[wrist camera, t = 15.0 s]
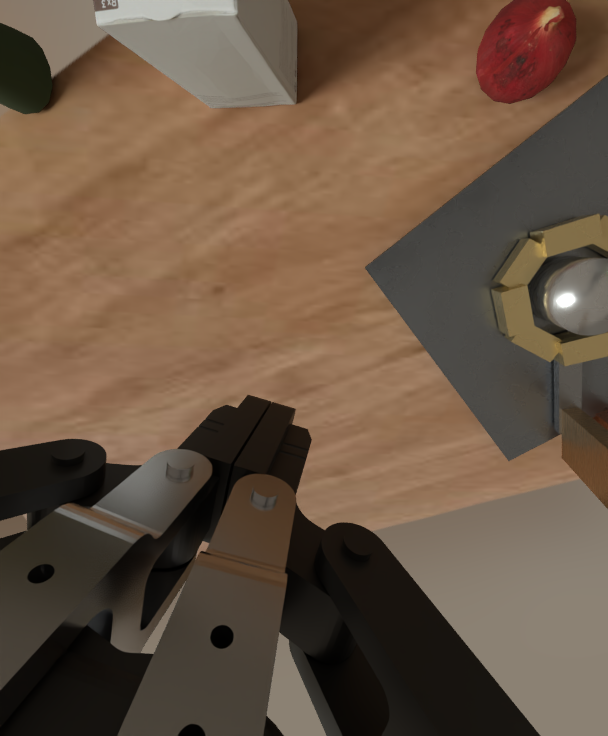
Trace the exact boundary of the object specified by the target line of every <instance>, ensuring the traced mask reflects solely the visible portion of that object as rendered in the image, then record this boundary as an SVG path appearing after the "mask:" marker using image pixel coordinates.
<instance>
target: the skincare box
mask: <svg viewBox="0 0 608 736" xmlns="http://www.w3.org/2000/svg"><path fill="white" fill-rule="evenodd" d="M93 1H94V8H95V16H96V24H97V26H98V27H100V28H101V29H102V30H104V31H105V32H107V33H108V34H109V35H111V36H112V37H113V38H115V39H116V40H118V41H119V42H120V43H122V44H123V45H124V46H126V47H127V48H129V49H130V50H132V51H133V52H134V53H136V54H137V55H138V56H140V57H141V58H143V59H144V60H145V61H147V62H148V63H150V64H151V65H152V66H154V67H155V68H156V69H158V70H159V71H161V72H162V73H163V74H165V75H166V76H168V77H169V78H170V79H172V80H173V81H174V82H176V83H177V84H179V85H180V86H181V87H183V88H184V89H185V90H187V91H188V92H190V93H191V94H192V95H194V96H195V97H197V98H198V99H199V100H201V101H202V102H203V103H205V104H206V105H208V106H209V107H210V108H231V107H257V106H272V105H282V104H296V101H297V21H296V18H295V16H294V13H293V11H292V8H291V6H290V4H289V1H288V0H93Z"/></svg>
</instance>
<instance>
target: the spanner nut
mask: <svg viewBox="0 0 608 736" xmlns="http://www.w3.org/2000/svg"><path fill="white" fill-rule="evenodd" d="M530 237H531V239H530V238H528V239H520V241H519V242H518V244H517V245H516V247H515V248H514V250H513V251H512V253H511V254H510V256H509V257H508V259H507V260H506V262H505V263H504V265H503V266H502V268H501V269H500V271H499V272H498V274H497V275H496V277H495V278H494V280H493V281H495V282H497V283H499V284H501V285H503V286H501V287H497V288H494V289H491V292H492V297H493V302H494V307H495V312H496V317H497V322H498V327H499V330H500V331H501V332H503V333H504V334H505V336H504V337H505V338H507V339H508V340H509V341H511V342H513V343H515V344H516V345H518V346H520V347H522V348H524V349H526V350H528V351H530V352H532V353H533V354H535V355H537V356H539V357H541V358H543V359H545V360H547V361H549V362H551V361H552V360H553V359H554V429H555V430H556V431H557V432H558V433H559V434H562V459H563V460H564V461H565V462H566V463H567V464H568V465H569V466H570V468H571V469H572V470H573V471H574V472H575V473H576V474H577V475H578V476H579V478H580V479H581V480H582V481H583V482H584V483H585V484H586V485H587V486H588V488H589V489H590V490H591V491H592V492H593V493H594V494H595V495H596V496H597V498H598V499H599V500H600V501H601V502H602V503H603V504H604V505H605V507H606V508H608V430H607V429H606V428H604V427H603V426H602V425H601V424H599V423H598V422H597V421H595V420H594V419H593V418H592V417H590V416H589V415H588V414H586V413H585V412H584V411H583V410H582V362H586V361H590V360H594V359H599V358H603V357H607V356H608V332H606V333H603V334H599V335H591V336H587V335H579V334H575V333H573V332H570V331H568V332H564V333H560V334H556V335H551V334H549V333H547V332H545V331H543V330H542V329H540V328H538V327H536V326H534V320H533V315H532V309H531V303H530V298H529V292H528V286H527V285H528V283H529V282H530V281H531V279H532V278H533V276H534V275H535V274H536V272H537V271H538V269H539V268H540V266H541V265H542V264H543V262H544V261H545V259H546V258H547V257H550V256H553V255H556V254H560V253H563V252H566V251H570V250H573V249H576V248H580V247H583V246H586V247H588V248H590V249H592V250H594V251H596V252H598V253H599V254H601V255H603V256H605V257H607V258H608V216H606V215H600V214H592V215H584V216H579V217H576V218H573V219H570V220H566V221H563V222H560V223H557V224H554V225H551V226H548V227H544V228H541V229H538V230H535V231H532V232H530Z"/></svg>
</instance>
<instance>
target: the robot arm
mask: <svg viewBox="0 0 608 736" xmlns="http://www.w3.org/2000/svg"><path fill="white" fill-rule="evenodd" d="M295 410H296V409H294V408H291V407H288V406H284V405H281V404H278V403H274V402H272V404H271V401H268V400H264V399H261V398H258V397H254V396H251V395H247V397H246V398H245V399H244V400H243V402H242V403H241V404H240V405H239V407H238V408H236V407H232V406H229V405H225V406H223V407H220V408H217V409H215V410H213V411H212V412H211V413H210V414H209V415H208V417H207V418H206V419H205V420H204V421H203V422H202V423H201V424H200V425H199V427H197V428H196V429H195V430H194V431H193V432H192V434H191V435H190V436H189V437H188V438H187V439H186V440H185V441H184V442H183V443H182V444H181V445H180V446H179V447H178V448H177V449H172V450H166V451H163V452H160V453H158V454H156V455H154V456H153V457H152V458H150V459H149V460H148V461H147V462H146V463H144V464H143V465H121V464H110V463H106V452H105V450H104V449H103V447H101V446H100V445H98V444H97V443H94V442H92V441H88V440H82V439H65V440H58V441H52V442H46V443H41V444H35V445H29V446H24V447H18V448H12V449H6V450H1V451H0V521H1V520H4V519H8V518H12V517H15V516H19V515H23V514H26V513H27V531H24V532H20V533H17V534H14V535H10V536H7V537H4V538H0V736H284V735H283V734H282V733H281V732H280V730H279V729H278V728H277V726H276V725H275V724H274V723H273V722H272V721H271V720H270V719H269V718H268V717H267V716H266V715H267V708H268V702H269V695H270V688H271V682H272V676H273V669H274V663H275V656H276V650H277V643H278V637H279V632H280V633H281V634H282V635H284V636H285V637H286V638H287V639H289V646H290V651H291V654H292V657H293V659H294V662H295V664H296V666H297V668H298V671H299V673H300V675H301V678H302V680H303V682H304V685H305V687H306V689H307V691H308V693H309V696H310V698H311V701H312V703H313V705H314V707H315V710H316V712H317V714H318V717H319V719H320V721H321V724H322V726H323V728H324V730H325V733H326V735H327V736H540V735H539V734H538V732H537V731H536V730H535V729H534V727H533V726H532V725H531V724H530V723H529V721H528V720H527V719H526V718H525V716H524V715H523V714H522V713H521V712H520V710H519V709H518V708H517V706H516V705H515V704H514V703H513V702H512V700H511V699H510V698H509V697H508V695H507V694H506V693H505V692H504V691H503V689H502V688H501V687H500V686H499V684H498V683H497V682H496V681H495V679H494V678H493V677H492V676H491V675H490V673H489V672H488V671H487V670H486V668H485V667H484V666H483V665H482V663H481V662H480V661H479V660H478V658H477V657H476V656H475V655H474V653H473V652H472V651H471V650H470V649H469V648H468V646H467V645H466V644H465V642H464V641H463V640H462V639H461V637H460V636H459V635H458V634H457V633H456V631H454V629H453V628H452V626H451V625H450V624H449V623H448V622H447V620H446V619H445V618H444V617H443V616H442V614H441V613H440V612H439V610H438V609H437V608H436V607H435V606H434V604H433V603H432V602H431V601H430V599H429V598H428V597H427V596H426V594H425V593H424V592H423V591H422V590H421V588H420V587H419V586H418V585H417V583H416V582H415V581H414V580H413V578H412V577H411V576H410V575H409V573H408V572H407V571H406V570H405V569H404V567H403V566H402V565H401V564H400V562H399V561H398V560H397V559H396V557H395V556H394V555H393V554H392V553H391V551H390V550H389V549H388V548H387V547H386V545H385V544H384V543H383V542H382V540H381V539H380V538H379V537H378V536H376V535H375V534H374V533H373V532H371V531H370V530H368V529H366V528H364V527H362V526H360V525H357V524H353V523H336V524H333V525H331V526H329V527H328V528H327V529H326V530H323V529H322V528H320V527H318V526H317V525H315V524H314V523H312V522H311V521H309V520H308V519H307V518H306V517H305V516H304V515H303V514H302V512H301V511H300V509H299V508H298V506H297V503H296V493H297V489H298V486H299V482H300V479H301V475H302V472H303V468H304V465H305V461H306V458H307V454H308V451H309V447H310V444H311V440H312V439H311V437H310V434H309V432H308V429H305V428H302V427H299V426H295V425H292V423H293V419H294V415H295ZM202 541H205V542H208V543H209V545H208V548H207V550H206V552H204V551H201V552H200V553H199V555H198V557H197V558H196V556H197V551H198V548H199V546H200V545H201V543H202ZM185 582H186V583H185ZM184 583H185V585H184ZM183 585H184V587H183V589H182V592H181V594H180V596H179V598H178V601H177V603H176V605H175V608H174V610H173V612H172V614H171V616H170V619H169V621H168V623H167V625H166V628H165V630H164V632H163V634H162V637H161V639H160V641H159V643H158V645H157V648H156V650H155V652H154V654H144V653H141V651H142V649H143V647H144V645H145V643H146V642H147V640H148V639H149V637H150V635H151V634H152V633H153V631H154V630H155V628H156V626H157V625H158V623H159V622H160V620H161V619H162V617H163V616H164V614H165V613H166V611H167V609H168V608H169V606H170V605H171V603H172V602H173V600H174V599H175V597H176V596H177V594H178V592H179V591H180V589H181V588H182V586H183Z"/></svg>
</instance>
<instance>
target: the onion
mask: <svg viewBox="0 0 608 736" xmlns="http://www.w3.org/2000/svg"><path fill="white" fill-rule="evenodd" d="M575 41H576V18H575V15H574V13H573V10H572V8H571V5H570V3H568V2H567V1H566V0H513V1H512V2H511V3H509V4H508V5H507V6H505V7H504V8H503V9H501V11H500V12H499V13H498V15H497V16H496V17H495V19H494V20H493V21H492V23H491V24H490V25H489V27H488V28H487V29H486V31H485V34H484V36H483V39H482V41H481V44H480V46H479V49H478V53H477V65H476V74H477V77H478V80H479V84H480V87H481V90H482V91H484V92H485V93H486V94H487V95H488V96H489V97H490V98H491V99H492V100H493V101H498V102H503V103H508V104H511V103H514V102H518V101H521V100H525V99H528V98H532V97H533V96H535V95H536V94H537V93H539V92H540V91H542V90H543V89H545V88H546V87H548V86H549V85H550V84H551V83H552V82H553V80H554V79H555V78H556V76H557V75H558V74H559V72H560V71H561V70H562V69H563V67H564V66H565V65H566V63H567V60H568V58H569V56H570V53H571V51H572V49H573V47H574V44H575Z"/></svg>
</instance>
